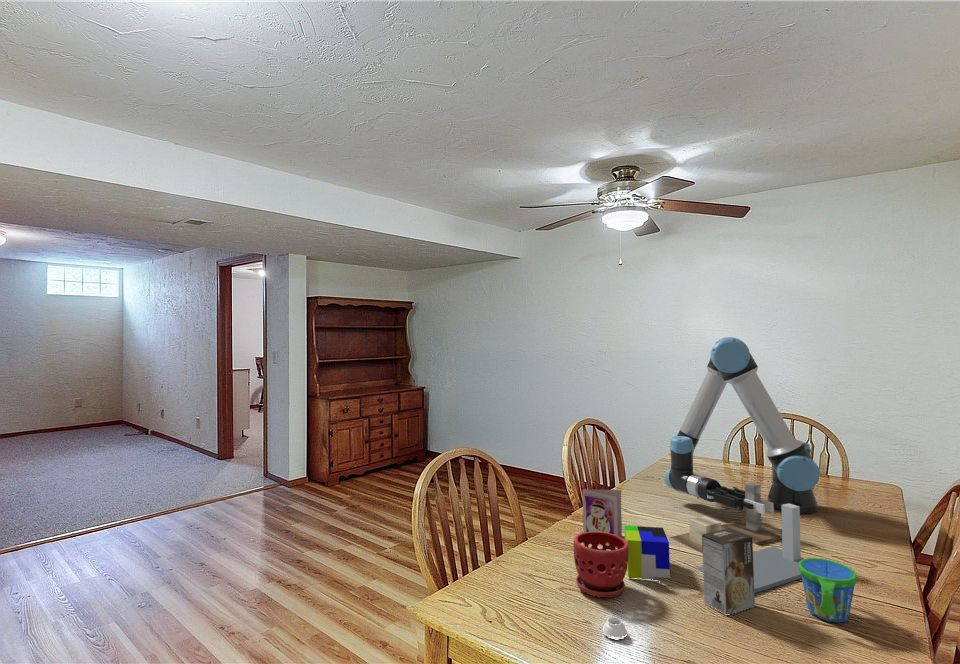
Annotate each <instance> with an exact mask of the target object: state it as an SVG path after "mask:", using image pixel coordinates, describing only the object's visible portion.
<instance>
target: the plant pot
mask: <svg viewBox="0 0 960 664" xmlns="http://www.w3.org/2000/svg"><path fill="white" fill-rule="evenodd" d="M607 543H608V545H607ZM589 545H591V546H589ZM599 545H601V548H599V547H598V546H599ZM616 548H617V549H616ZM628 556H629V545H628V542H627V541H626V540H625V538H623V537H622V536H617V535H614V534H610V533H605V532H584V533H583V532H580V533H578V534H576V535H575V536H574V539H573V560H574V564H575V565H574V566H575V568H576V572H577V574H578V575H577V576H576V577H575V579H576V580H575V582H576V584H577V587H578V588H579V589H580V591H582V592H583V591H584V592H583V593H585V592H586V593H585V594H587V593H588V594H587V595H589V594H590V595H593V596H592V597H595V596H597V597H596V598H600V597H610V598H613V596H615V597H617V596H619V595H620V594H622V593H623V591H624V590H625V587H626V586H625V585H626V584H625V581H624V579H625V577H626V574H627V565H628ZM590 595H589V596H590Z"/></svg>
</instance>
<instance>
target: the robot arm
mask: <svg viewBox="0 0 960 664" xmlns="http://www.w3.org/2000/svg"><path fill="white" fill-rule="evenodd" d="M706 369H707V372H706V374H705V377H704V378H703V380H702V383H701V385H700V387H699V389H698V391H697V393H696V395H695V398H694V400H693V401H692V404H691V405H690V407H689V410H688V412H687V414H686V416H685V419H684V421H683V422H682V425H681V426H680V429H679V431H678V433H677V434H676V435H675V436H672V437H670V440H669V442H670V443H669V448H670V467H669V468H667V470H666V471H665V474H664V476H663V477H664V478H663V479H664V483H665V484H666V486H667V487H668V488H671V489H673V490H674V491H677V492H680V493H684V494H686V495H689V496H693V497H696V499H698V500H700V499H702V500H704V501H706V502H710V503H717V504H721V505H724V506H727V507H731V508H734V509H737V508H739V511H744V509H745V510H746V509H749V510H752V511H755V512H758V513H761V515H766V511H767V512H769V513H774V512H775V511H774V509H775V510H778V511H782V508H781V505H784V504H788V503H789V504H793V505H796V506H799V507H800V514H802V513H807V514H814V513H817V512H818V510H819V507H818V505H819V504H818V501H817V498H816V496H815V493H814V490H813V488H814V487H816V486H817V484H818V482H819V481H820V479H821V478H820V477H821V474H820V468H819V466H818V464H817V463H816V462H815V460H814V459H813V458H812V456H811V452H812V450H811V445H810V443H808V442H803V441H802V440H799V439H796V438H795V437H794V436H793V433H792V432H791V430H790V429H789V427H788V425H787V423H786V422H785V420H784V418H783V416H782V415H781V413H780V411H779V410H778V408H777V406H776V405H775V403H774V401H773V399H772V398H771V396H770V395H769V393H768V391H767V389H766V388H765V386H764V383H763V382H762V381H761V379H760V377H759V375H758V374H757V372H758V369H759V366H758V364H757V362H756V361H755V359H754V357H753V356H752V353H751V352H750V349H749V347H748V345H747V344H746V343H745V342H744V341H743V340H742V339H739V338H737V337H732V336H729V337H727V336H726V337H723V338H720V339H719V340H717V341H715V343H714V344H713V346H712V347H711V350H710V358H709V361H708V364H707V365H706ZM727 384H730V385H731V386H732V388H733V389H734V391H735V393H736V394H737V396H738V398H739V400H740V402H741V403H742V406H743V408H744V409H745V410H746V412H747V414H748V416H749V417H750V419H751V420H752V422H753V424H754V427H755V429H756V430H757V431H758V433H759V435H760V436H761V438H762V439H763V442H764V444H765V445H766V447H767V451H766V456H767V459H768V460H769V462H770V464H771V467H772V468H771V469H772V484H771V486H770V488H769V492H768V495H767V500H764V499H762V498H761V504H760V503H757V502H754V501H751V500H748V499H745V490H743V489H739V488H738V487H736V486H733V487H732V488H728V487H726V486H723V485H721V483H720V482H719V481H718V480H717V479H713V478H710V477H708V476H704V475H700V474H697V473H694V452H695V449H696V447H697V445H698V443H699V441H700V439H701V436H702V435H703V432H704V431H705V428H706V426H707V424H708V422H709V421H710V418H711V416H712V415H713V412H714V410H715V408H716V406H717V404H718V402H719V400H720V399H721V396H722V394H723V392H724V390H725V388H726V386H727ZM816 511H817V512H816Z"/></svg>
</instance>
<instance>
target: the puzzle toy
mask: <svg viewBox="0 0 960 664" xmlns="http://www.w3.org/2000/svg"><path fill="white" fill-rule="evenodd" d="M624 539H625V540H626V541H627V542H628V545H629V556H628V565H627V571H626V573H627V572H628V574H627V578H628V577H629V578H642V579H651V580H652V579H653V580H659V579H658V578H664V579H671V572H670V571H671V570H670V569H671V567H670V566H671V565H670V562H671V561H670V542H669V539H668V537H667V534H666V532H665V530H664V527H657V526H641V525H640V526H639V525H638V526H637V525H624Z"/></svg>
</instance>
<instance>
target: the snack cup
mask: <svg viewBox="0 0 960 664" xmlns="http://www.w3.org/2000/svg"><path fill="white" fill-rule="evenodd" d="M799 571H800V573H801V575H802V578H801V581H802V585H803V592H804V597H805V604H806V607H807V609H808V611H809V613H810V614H811V615H813V616H816V617H817V618H819V619H821V620H824V621H827V622H831V623H832V622H833V623H843V622H844V623H846V622H848V620H849V618H850V614H851V609H852V603H853V599H854V598H853V597H854V590H855V585H856V584H857V581H858V576H857V573H856V572H855V570H854V569H852V568H851V567H849V566H848V565H845V564H843V563H841V562H838V561H834V560H830V559H825V558H819V557H818V558H816V557H809V558H807V557H806V558H804V559H803V560H801V561H800V562H799Z"/></svg>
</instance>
